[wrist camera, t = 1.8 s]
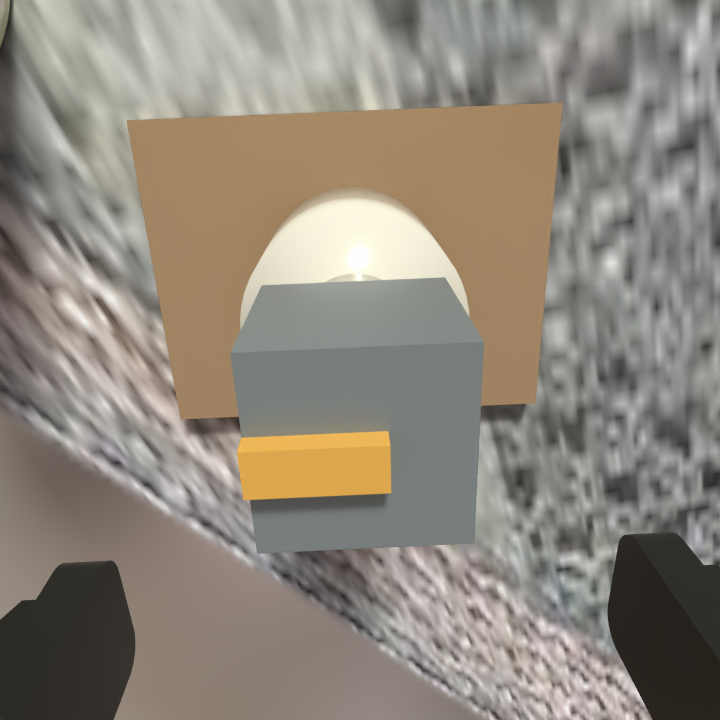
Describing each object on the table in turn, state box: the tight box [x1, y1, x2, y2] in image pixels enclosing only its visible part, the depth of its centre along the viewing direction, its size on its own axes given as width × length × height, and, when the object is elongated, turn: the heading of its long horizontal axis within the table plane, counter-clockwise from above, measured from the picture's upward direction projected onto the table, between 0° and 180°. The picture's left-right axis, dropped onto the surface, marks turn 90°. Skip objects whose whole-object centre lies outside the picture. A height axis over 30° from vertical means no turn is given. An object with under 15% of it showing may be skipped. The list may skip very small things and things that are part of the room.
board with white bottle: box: [127, 103, 563, 419], centre depth 23 cm, size 18×14×11 cm
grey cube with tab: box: [230, 277, 484, 554], centre depth 15 cm, size 5×5×6 cm
